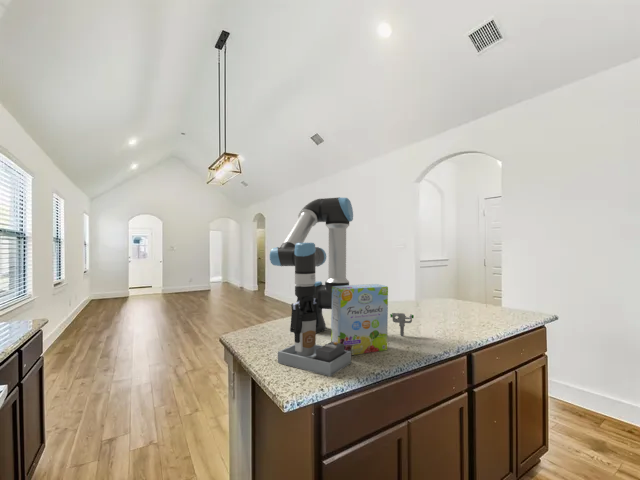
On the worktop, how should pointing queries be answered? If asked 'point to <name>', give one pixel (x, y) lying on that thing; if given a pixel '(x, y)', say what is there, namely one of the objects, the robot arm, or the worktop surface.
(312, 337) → the coffee cup
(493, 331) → the worktop surface
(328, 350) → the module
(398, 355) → the worktop surface
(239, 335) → the worktop surface
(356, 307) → the snack box
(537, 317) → the worktop surface
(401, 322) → the mechanical component
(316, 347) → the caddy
